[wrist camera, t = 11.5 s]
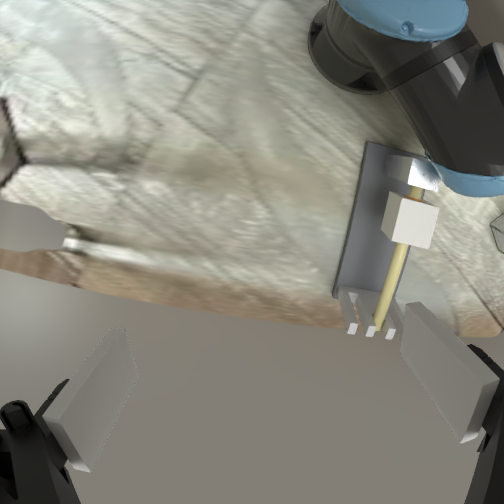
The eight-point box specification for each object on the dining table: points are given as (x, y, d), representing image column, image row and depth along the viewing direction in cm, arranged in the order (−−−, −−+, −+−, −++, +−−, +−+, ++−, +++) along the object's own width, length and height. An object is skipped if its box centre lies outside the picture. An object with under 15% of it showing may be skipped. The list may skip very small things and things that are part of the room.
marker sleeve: (389, 191, 37) (402, 197, 32) (424, 200, 37) (439, 207, 32) (380, 229, 39) (391, 240, 34) (414, 236, 39) (428, 249, 34)
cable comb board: (366, 141, 42) (391, 142, 31) (427, 158, 42) (467, 166, 30) (331, 293, 51) (341, 337, 39) (388, 303, 50) (410, 346, 38)
